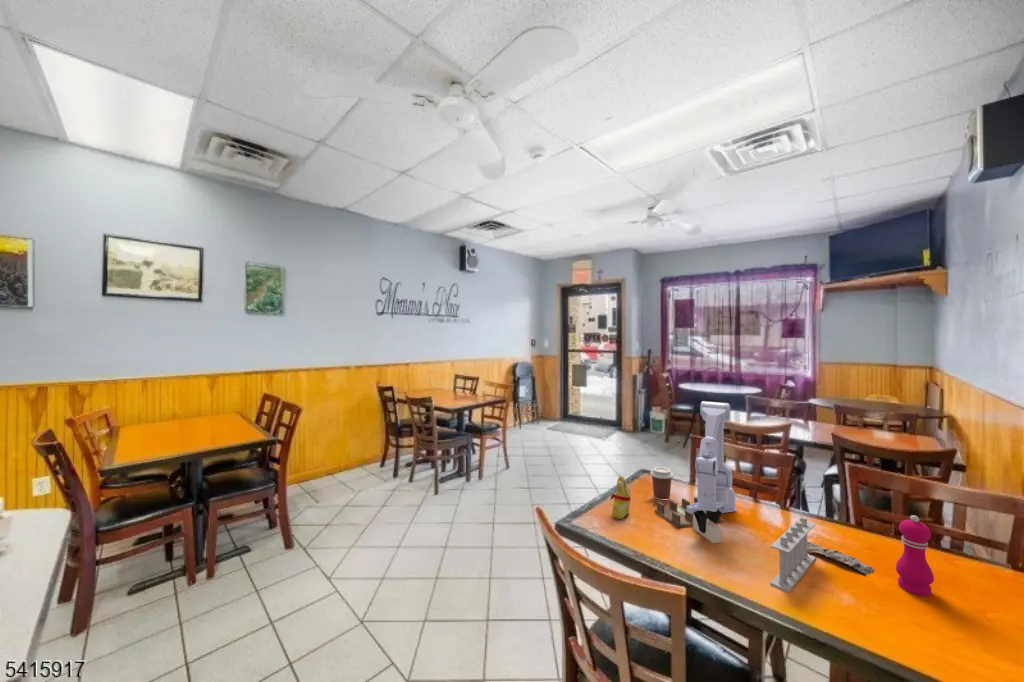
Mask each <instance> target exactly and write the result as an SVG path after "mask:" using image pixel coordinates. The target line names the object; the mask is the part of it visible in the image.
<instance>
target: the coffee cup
mask: <svg viewBox="0 0 1024 682" xmlns="http://www.w3.org/2000/svg"><path fill="white" fill-rule="evenodd" d="M650 475H651V478H652V490H653V498H654V497H655V498H658V499H669V498H670V499H671V486H672V479H673V478H674V473H672V472H671V470H670V468H667V467H663V466H656V467H654V468H652V470H650ZM655 498H654V499H655ZM670 499H669V500H670Z"/></svg>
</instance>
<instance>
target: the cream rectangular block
mask: <svg viewBox="0 0 1024 682" xmlns="http://www.w3.org/2000/svg"><path fill="white" fill-rule="evenodd" d="M692 529H693V531H696V532H697V533H698V534H700V535H701V536H702V537H703V538H705V539H706V540H708V541H709V542H711V543H712V544H718V543H722V527H721V526H720V525H718V524H715V523H714V522H712V521H710V520H709V519H707V521H706V531H705V533H702V532H701V531H699V527H698V523H697V520H696V518H695V516H694V515H693V526H692Z"/></svg>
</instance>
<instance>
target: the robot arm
mask: <svg viewBox="0 0 1024 682" xmlns="http://www.w3.org/2000/svg"><path fill="white" fill-rule="evenodd" d="M699 407H700V408H699V409H700V410H699V412H700V416H701V417H702V420H703V421H705V429H704V430H705V431H704V437H703V438H702V439H701V440H700V444H699V452H698V457H697V456H696V458H695V464H694V465H695V473H696V479H697V498H698V502H697V503H694V502H693V503H691V504H692V505H691V504H690V505H688V506H687V512H688V513H690V514H692V513H693V514H694V516H695V518H696V520H697V523H698V527H699V531H701V532H702V533H705V531H706V521H707V519H709V520H710V521H712V522H714V523H715V524H717V521H718V520H719V518H721V517H722V514H724V513H731V512H732V513H734V512H737V509H736V493H735V490H734V489H733V487H732V486H733V472H732V468H731V466H730V465H728V464H727V463H726V462H724V461H725V459H724V457H725V456H724V448H725V447H724V445H725V444H724V443H725V441H724V426H725V424H726V423H729V422H730V421H731V405H730V404H729V402H718V401H717V402H716V401H715V402H714V401H705V400H703V401H701V403H700V406H699ZM704 511H706V513H707V515H706V514H705V513H704ZM717 525H718V524H717Z"/></svg>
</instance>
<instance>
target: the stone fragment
mask: <svg viewBox="0 0 1024 682" xmlns="http://www.w3.org/2000/svg"><path fill="white" fill-rule="evenodd" d="M807 553H817V554H820V555H824V556H825V557H829V558H831V559H834V560H835V561H836V562H840V563H841V562H842V563H844V564H847V565H848V566H849V567H852V568H853V569H854V570H857V571H859V572H861V573H863V574H864V575H865V576H868V575H870V574H873V572H874V571H875V568H874V567H872V566H871V565H868V564H865V563H863V562H861V559H859V558H856V557H853V556H851V555H849V554H848V555H847V554H846V553H844V552H841V551H838V550H836V549H830V548H827V547H824V546H822V545H819V544H816V543H814V542H810V541H807Z"/></svg>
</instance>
